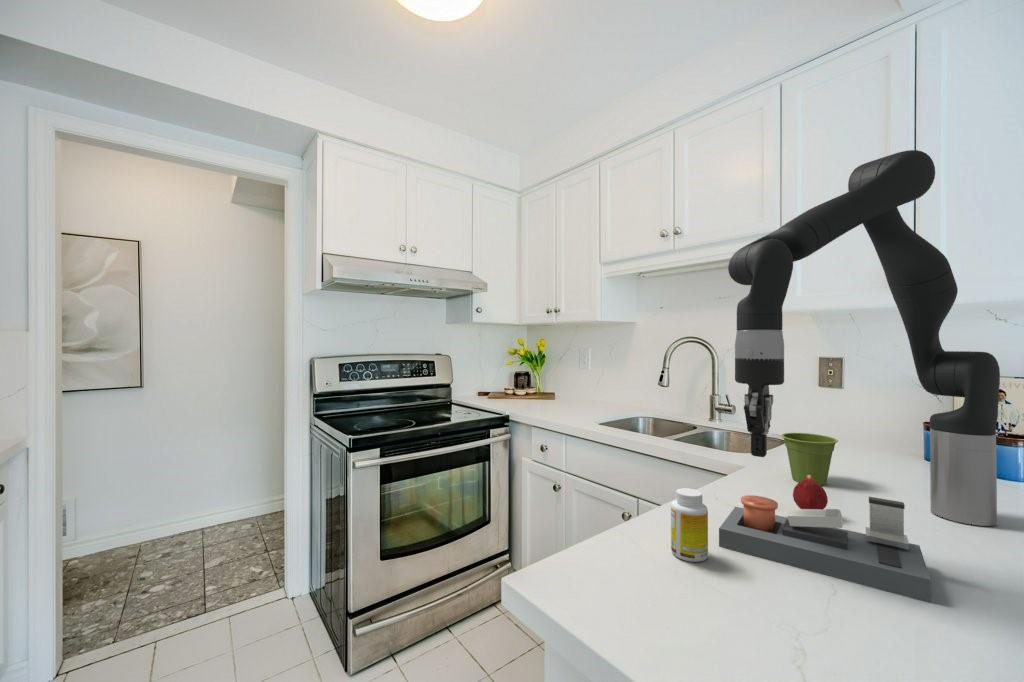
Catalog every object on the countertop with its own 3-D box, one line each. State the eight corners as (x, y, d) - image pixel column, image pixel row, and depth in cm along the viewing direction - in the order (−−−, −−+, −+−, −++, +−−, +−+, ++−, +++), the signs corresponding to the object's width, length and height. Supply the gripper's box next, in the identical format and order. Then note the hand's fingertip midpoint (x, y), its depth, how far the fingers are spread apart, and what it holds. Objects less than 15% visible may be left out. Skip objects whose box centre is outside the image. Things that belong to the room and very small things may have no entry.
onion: (833, 522, 84) (833, 480, 84) (800, 519, 85) (800, 478, 85) (818, 511, 90) (818, 472, 90) (788, 508, 91) (788, 470, 91)
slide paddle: (865, 531, 71) (865, 494, 71) (906, 540, 68) (906, 500, 68) (866, 540, 68) (865, 500, 68) (909, 549, 65) (908, 508, 65)
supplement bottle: (715, 559, 69) (715, 494, 69) (690, 566, 67) (690, 499, 67) (687, 544, 74) (687, 484, 74) (663, 551, 72) (663, 489, 72)
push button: (744, 517, 79) (744, 493, 80) (780, 525, 76) (779, 500, 76) (737, 527, 75) (737, 501, 75) (775, 535, 72) (775, 509, 72)
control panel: (735, 522, 84) (735, 501, 84) (919, 564, 68) (919, 538, 68) (719, 546, 73) (718, 522, 74) (931, 602, 57) (930, 572, 57)
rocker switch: (792, 518, 74) (789, 507, 74) (842, 520, 70) (839, 508, 70) (789, 526, 71) (787, 514, 71) (842, 528, 67) (839, 515, 67)
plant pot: (770, 476, 114) (770, 433, 114) (807, 473, 117) (806, 431, 117) (811, 490, 103) (811, 443, 103) (850, 487, 105) (850, 440, 106)
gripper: (778, 357, 68) (778, 467, 68) (788, 356, 79) (788, 452, 78) (726, 356, 73) (726, 459, 73) (742, 356, 83) (742, 446, 83)
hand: (758, 455), depth 76 cm, fingers closed
